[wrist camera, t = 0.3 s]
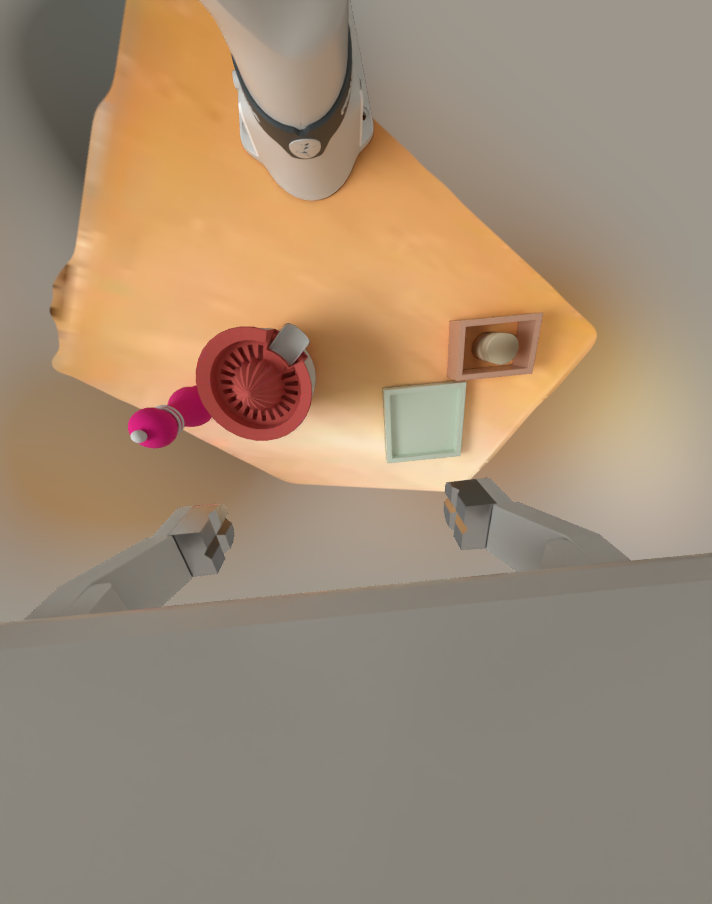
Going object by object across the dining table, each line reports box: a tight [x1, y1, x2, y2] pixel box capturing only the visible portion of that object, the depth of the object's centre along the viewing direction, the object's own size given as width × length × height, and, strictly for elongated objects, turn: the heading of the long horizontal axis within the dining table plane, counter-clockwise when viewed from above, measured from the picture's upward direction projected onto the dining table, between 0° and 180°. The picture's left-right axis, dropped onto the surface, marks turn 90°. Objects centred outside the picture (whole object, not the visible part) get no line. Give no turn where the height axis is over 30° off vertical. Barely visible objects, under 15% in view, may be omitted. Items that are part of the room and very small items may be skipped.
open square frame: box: [447, 313, 543, 381], centre depth 50 cm, size 10×14×5 cm
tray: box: [383, 380, 466, 463], centre depth 58 cm, size 16×16×2 cm
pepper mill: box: [128, 385, 212, 448], centre depth 46 cm, size 7×7×20 cm
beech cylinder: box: [472, 332, 519, 365], centre depth 50 cm, size 5×5×7 cm
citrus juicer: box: [196, 323, 316, 441], centre depth 44 cm, size 16×17×20 cm
